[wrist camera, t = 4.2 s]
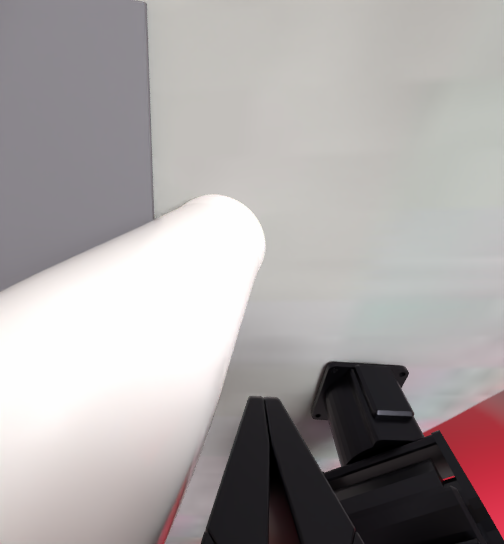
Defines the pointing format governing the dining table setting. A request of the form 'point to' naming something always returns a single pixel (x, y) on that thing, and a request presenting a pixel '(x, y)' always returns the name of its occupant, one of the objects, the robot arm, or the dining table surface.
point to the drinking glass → (120, 375)
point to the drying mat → (71, 129)
